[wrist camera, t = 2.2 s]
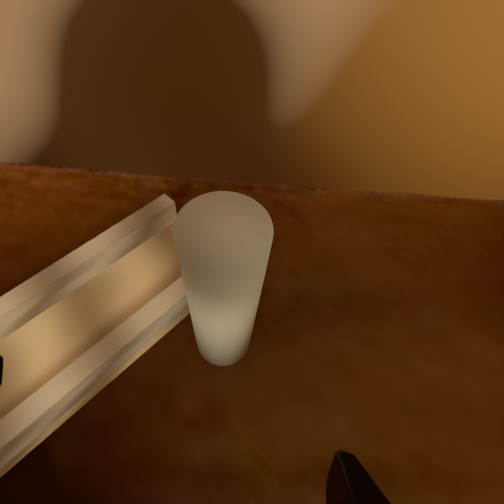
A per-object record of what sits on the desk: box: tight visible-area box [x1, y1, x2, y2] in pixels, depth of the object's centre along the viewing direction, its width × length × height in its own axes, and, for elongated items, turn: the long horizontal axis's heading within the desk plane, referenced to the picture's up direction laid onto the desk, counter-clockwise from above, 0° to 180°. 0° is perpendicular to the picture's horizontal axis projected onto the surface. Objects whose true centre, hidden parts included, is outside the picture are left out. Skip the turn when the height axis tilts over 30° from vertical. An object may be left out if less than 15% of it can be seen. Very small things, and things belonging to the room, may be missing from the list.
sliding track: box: [0, 194, 190, 477], centre depth 20 cm, size 20×8×3 cm, turn 136°
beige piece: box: [173, 191, 274, 366], centre depth 17 cm, size 4×4×12 cm
